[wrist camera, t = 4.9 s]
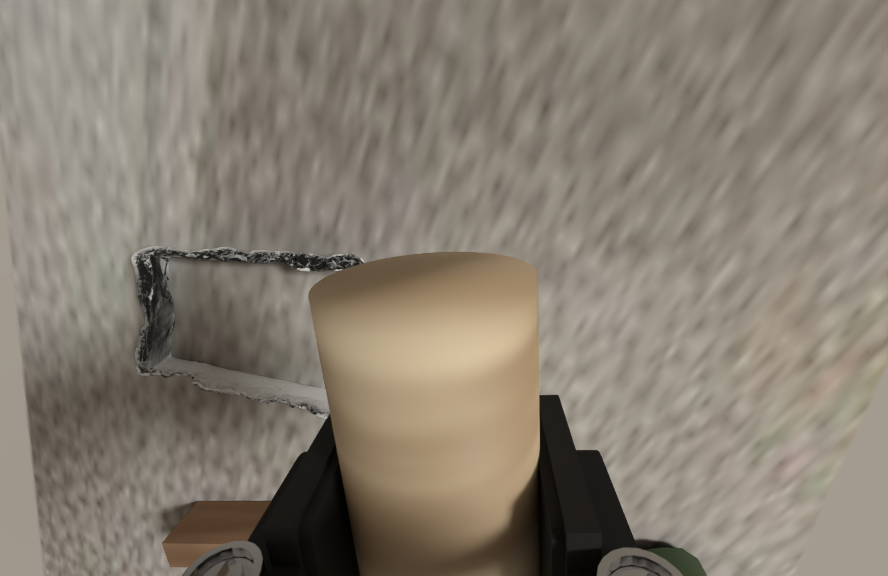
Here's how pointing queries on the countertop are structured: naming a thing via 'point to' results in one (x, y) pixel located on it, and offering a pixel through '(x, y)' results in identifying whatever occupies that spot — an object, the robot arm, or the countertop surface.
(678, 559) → the character mug
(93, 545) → the countertop surface
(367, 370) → the roller
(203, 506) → the stop rail
